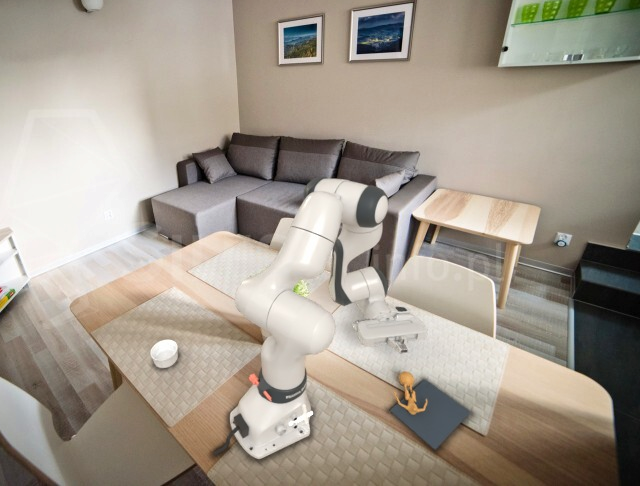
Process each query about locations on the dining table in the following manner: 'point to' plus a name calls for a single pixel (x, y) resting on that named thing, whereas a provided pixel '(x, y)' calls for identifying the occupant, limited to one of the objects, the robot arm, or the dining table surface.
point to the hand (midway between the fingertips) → (404, 351)
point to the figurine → (408, 381)
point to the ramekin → (164, 353)
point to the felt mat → (431, 414)
